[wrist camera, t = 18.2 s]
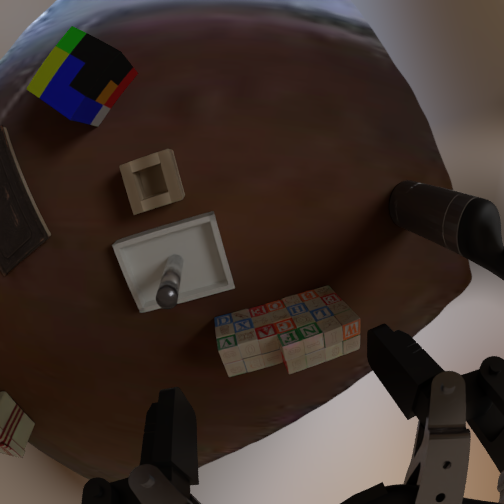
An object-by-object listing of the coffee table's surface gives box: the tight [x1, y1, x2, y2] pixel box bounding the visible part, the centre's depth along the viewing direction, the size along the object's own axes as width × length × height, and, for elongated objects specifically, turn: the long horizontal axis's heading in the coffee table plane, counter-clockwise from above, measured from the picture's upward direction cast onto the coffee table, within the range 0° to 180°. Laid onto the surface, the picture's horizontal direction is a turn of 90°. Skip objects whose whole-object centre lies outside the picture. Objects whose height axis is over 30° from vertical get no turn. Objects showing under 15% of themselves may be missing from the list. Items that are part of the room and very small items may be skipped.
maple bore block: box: [119, 149, 185, 215], centre depth 36 cm, size 7×7×5 cm
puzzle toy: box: [27, 26, 138, 127], centre depth 27 cm, size 10×10×10 cm
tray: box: [112, 211, 235, 313], centre depth 42 cm, size 16×12×3 cm
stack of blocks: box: [214, 285, 360, 377], centre depth 44 cm, size 21×6×12 cm, turn 102°
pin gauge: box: [156, 254, 184, 309], centre depth 37 cm, size 3×3×12 cm
